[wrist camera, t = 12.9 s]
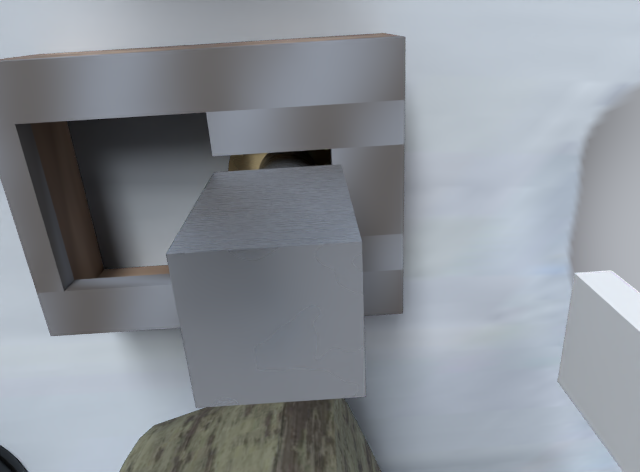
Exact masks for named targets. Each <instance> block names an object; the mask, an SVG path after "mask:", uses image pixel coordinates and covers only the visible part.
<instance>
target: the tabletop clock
mask: <svg viewBox="0 0 640 472" xmlns="http://www.w3.org/2000/svg"><path fill="white" fill-rule="evenodd" d="M120 472H381V470H380V468H379V466H378V464H377V462H376V460H375V457H374V455H373V453H372V451H371V449H370V447H369V445H368V443H367V441H366V439H365V437H364V435H363V434H362V432H361V430H360V428H359V426H358V424H357V422H356V420H355V418H354V416H353V414H352V412H351V410H350V408H349V406H348V404H347V402H346V401H345V399H344V398H339V399H324V400H309V401H293V402H278V403H263V404H248V405H233V406H217V407H206V408H203V409H200V410H197V411H194V412H192V413H189V414H186V415H183V416H180V417H177V418H174V419H171V420H168V421H166V422H163V423H160V424H157V425H154V426H153V427H152V428H151V429H150V430H148V431H147V432H146V433H145V434H144V435H143V436H142V437H141V438H140V439H139V440H138V442H137V443H136V445H135V446H134V448H133V449H132V451H131V452H130V454H129V455H128V457H127V459H126V460H125V462H124V464H123V466H122V468H121V470H120Z"/></svg>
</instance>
